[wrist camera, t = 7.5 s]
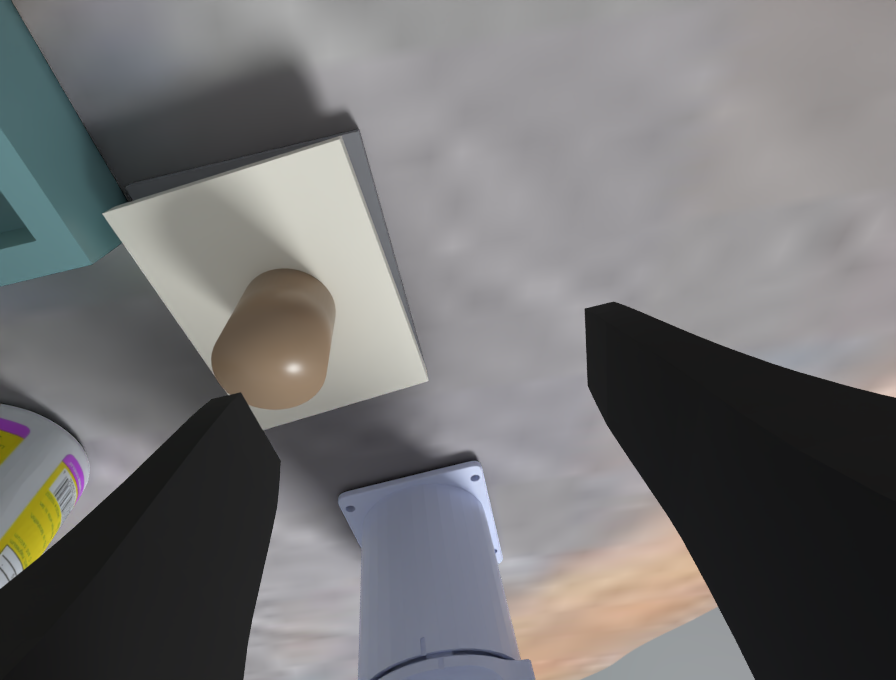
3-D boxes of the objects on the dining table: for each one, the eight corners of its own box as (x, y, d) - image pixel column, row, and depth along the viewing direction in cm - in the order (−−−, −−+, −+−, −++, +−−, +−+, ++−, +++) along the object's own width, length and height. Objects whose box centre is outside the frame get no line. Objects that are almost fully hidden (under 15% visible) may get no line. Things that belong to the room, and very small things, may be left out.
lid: (424, 357, 20) (438, 443, 16) (263, 405, 21) (231, 503, 16) (342, 131, 15) (329, 161, 11) (128, 198, 15) (25, 257, 11)
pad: (423, 359, 21) (424, 366, 21) (255, 400, 21) (252, 408, 21) (358, 128, 16) (358, 131, 15) (132, 182, 16) (124, 186, 15)
